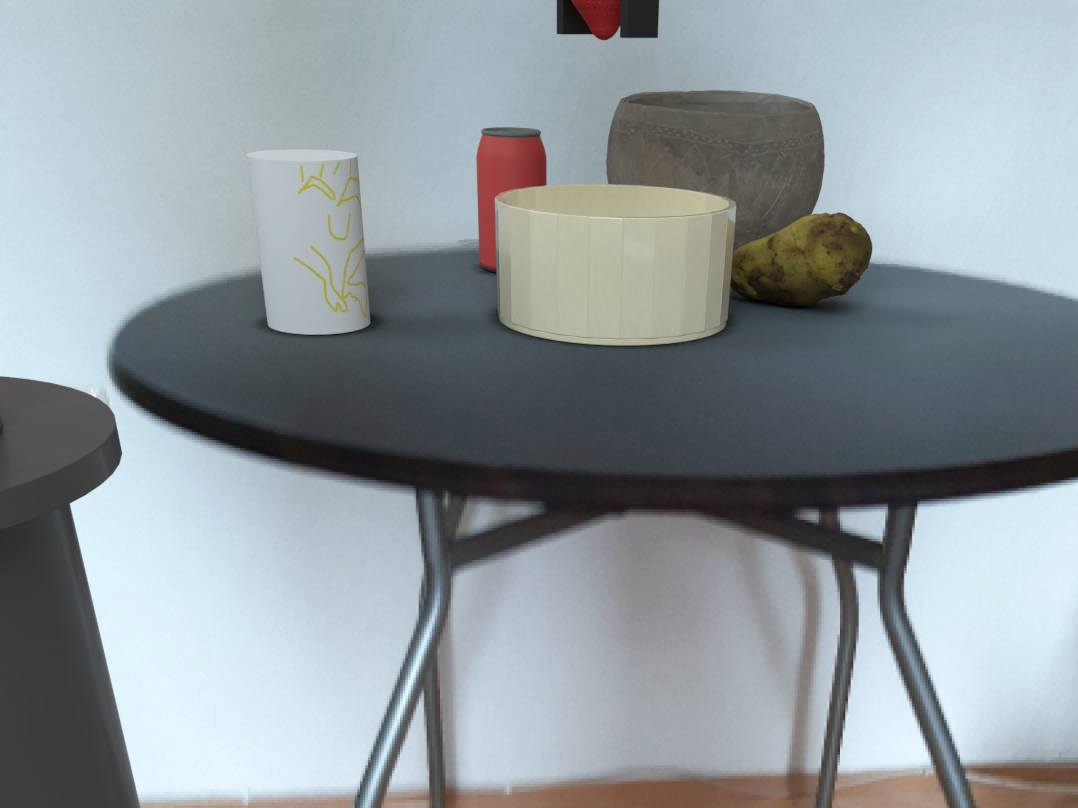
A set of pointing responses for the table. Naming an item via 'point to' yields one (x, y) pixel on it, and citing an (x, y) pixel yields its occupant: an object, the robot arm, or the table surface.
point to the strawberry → (600, 16)
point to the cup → (310, 240)
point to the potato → (803, 261)
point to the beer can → (504, 176)
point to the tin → (614, 263)
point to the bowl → (723, 152)
